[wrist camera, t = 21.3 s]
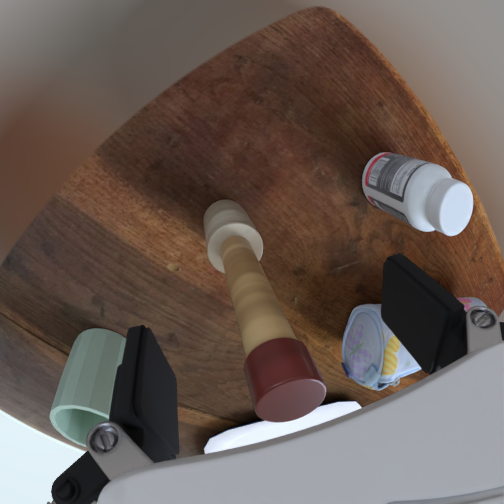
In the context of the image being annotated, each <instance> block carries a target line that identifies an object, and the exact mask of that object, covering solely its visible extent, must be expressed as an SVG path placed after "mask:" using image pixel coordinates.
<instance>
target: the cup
mask: <svg viewBox="0 0 504 504" xmlns="http://www.w3.org/2000/svg"><path fill="white" fill-rule="evenodd" d="M125 343H126V338H125V337H123V336H122V335H120V334H118V333H116V332H113V331H111V330H107V329H101V328H93V329H88V330H85V331H83V332H82V333H80V334H79V335H78V336H77V338H76V340H75V342H74V344H73V347H72V349H71V352H70V355H69V357H68V360H67V363H66V365H65V368H64V371H63V374H62V377H61V380H60V383H59V386H58V389H57V392H56V395H55V398H54V402H53V405H52V408H51V412H50V420H51V422H52V424H53V426H54V428H56V429H57V430H58V431H59V432H60V433H61V434H62V435H63V436H64V437H66V438H68V439H69V440H71V441H73V442H74V443H76V444H79V445H81V446H84V447H86V437H87V434H88V433H89V431H90V429H91V428H92V427H93V426H95V425H96V424H98V423H100V422H104V421H109V414H110V407H111V401H112V394H113V388H114V382H115V377H116V371H117V367H118V366H119V365H120V364H122V359H123V354H124V349H125Z"/></svg>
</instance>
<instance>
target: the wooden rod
mask: <svg viewBox="0 0 504 504" xmlns="http://www.w3.org/2000/svg"><path fill="white" fill-rule="evenodd" d="M203 224H204V232H205V239H206V246H207V253H208V257H209V260H210V262H211V264H212V265H213V266H214V267H215V268H216V269H217V270H219V271H220V272H223V273H225V275H226V279H227V283H228V287H229V291H230V295H231V299H232V303H233V307H234V311H235V315H236V319H237V323H238V327H239V331H240V334H241V338H242V342H243V346H244V350H245V353H246V357H247V358H246V361H245V364H244V371H245V375H246V379H247V383H248V387H249V391H250V395H251V399H252V402H253V406H254V410H255V413H256V414H257V415H258V416H259V417H260V418H261V419H263V420H265V421H268V422H275V423H280V422H288V421H293V420H296V419H299V418H301V417H304V416H306V415H307V414H309V413H311V412H312V411H314V410H315V409H316V408H317V407H318V406H319V405H320V404H321V403H322V402H323V400H324V398H325V396H326V391H327V388H326V385H325V382H324V380H323V378H322V376H321V375H320V373H319V371H318V369H317V367H316V365H315V363H314V361H313V359H312V357H311V355H310V353H309V351H308V349H307V347H306V346H305V345H304V344H303V343H302V342H300V341H299V340H297V339H296V337H295V335H294V333H293V331H292V329H291V327H290V325H289V323H288V321H287V319H286V316H285V314H284V312H283V310H282V308H281V306H280V304H279V302H278V300H277V298H276V296H275V294H274V292H273V290H272V288H271V286H270V284H269V282H268V279H267V277H266V275H265V273H264V271H263V269H262V267H261V265H260V263H259V260H260V258H261V256H262V253H263V242H262V239H261V236H260V235H259V233H258V231H257V230H256V228H255V226H254V225H253V223H252V221H251V220H250V218H249V216H248V215H247V213H246V212H245V210H244V208H243V207H242V206H241V205H240V204H239V203H237V202H235V201H232V200H220V201H217V202H215V203H213V204H212V205H211V206H210V207H209V208H208V209H207V210H206V212H205V215H204V219H203Z"/></svg>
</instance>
